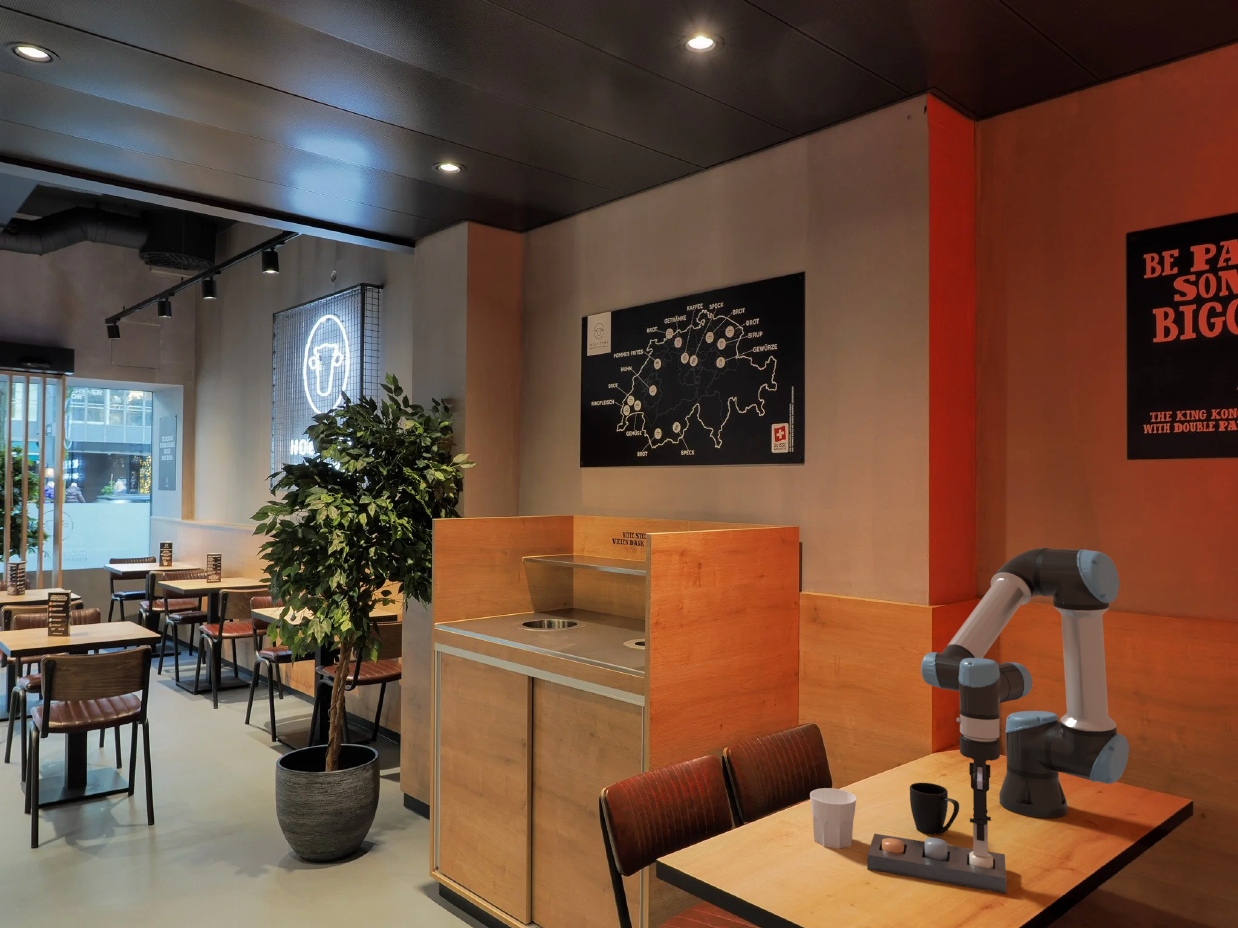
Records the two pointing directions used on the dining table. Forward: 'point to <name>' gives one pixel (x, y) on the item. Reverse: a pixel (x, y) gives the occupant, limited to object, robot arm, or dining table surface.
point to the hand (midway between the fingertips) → (980, 854)
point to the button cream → (981, 860)
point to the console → (937, 865)
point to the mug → (931, 808)
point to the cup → (833, 816)
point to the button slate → (936, 849)
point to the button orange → (893, 845)
